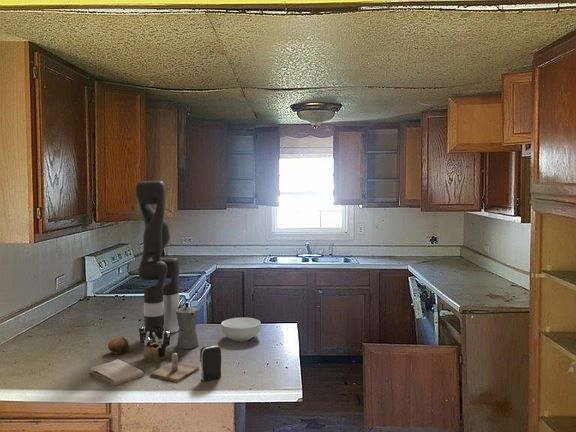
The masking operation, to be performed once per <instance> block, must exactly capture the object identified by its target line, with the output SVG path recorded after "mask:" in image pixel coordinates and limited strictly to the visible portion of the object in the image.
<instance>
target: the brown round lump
mask: <svg viewBox="0 0 576 432" xmlns="http://www.w3.org/2000/svg"><path fill="white" fill-rule="evenodd" d="M107 347H108V350H109V351H110V352H111V353H113V354H115V355H122V354H124V353H127V351H128V349H129V341H128V339H126V338H125V337H124V336H116V337H112V339H110V340H109V341H108V344H107Z"/></svg>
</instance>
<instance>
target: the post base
mask: <svg viewBox="0 0 576 432" xmlns="http://www.w3.org/2000/svg"><path fill="white" fill-rule="evenodd" d="M178 361H179V360H178V353H177V352H174V353H173V352H172V353H171V362H170V363H168V364H166V365H164V366H162V367H160V368H158V369H156V370H154V371H152V372H151V373H150V377H152V378H157V379H161V380H166V381H170V382H174V383H179V382H181V381H182V380H185V379H186V378H187V377H190V376H191V375H193V374H195V373H196V372H198V371H199V370H200V368H199V367H198V366H194V365H190V364H189V365H188V364H184V363H179V362H178Z"/></svg>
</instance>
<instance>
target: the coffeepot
mask: <svg viewBox="0 0 576 432" xmlns="http://www.w3.org/2000/svg"><path fill="white" fill-rule="evenodd" d="M184 305H185V306H184ZM184 305H183V304H179V307H178V309H176V314H177V320H178V326H179V331H178V335H177V336H178V337H177V344H176V348H178V349H181V350H190V349H191V350H192V349H194V348H195V349H196V348H197V347H198V346H199V341H198V334H197V330H196V326H197V320H198V312H199V311H198V307H193V306H189V302H185V303H184Z"/></svg>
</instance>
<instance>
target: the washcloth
mask: <svg viewBox="0 0 576 432" xmlns="http://www.w3.org/2000/svg"><path fill="white" fill-rule="evenodd" d="M89 372H90V374H92V375H93V376H94V377H96V378H98V379H99V380H102V381H103V382H105V383H107V384H109V385H111V386H118V385H121V384H123V383H126V382H129V381H133V380H136V379H139V378H140V377H143V376H144V372H143V370H142V369H140V368H137V367H135V366H134V365H131V364H130V363H127V362H125V361H123V360H121V359H115V360H112V361H110V362H107V363H100V364H98V365H95V366H91V369H90V371H89ZM138 377H139V378H138ZM132 379H133V380H132Z"/></svg>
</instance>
